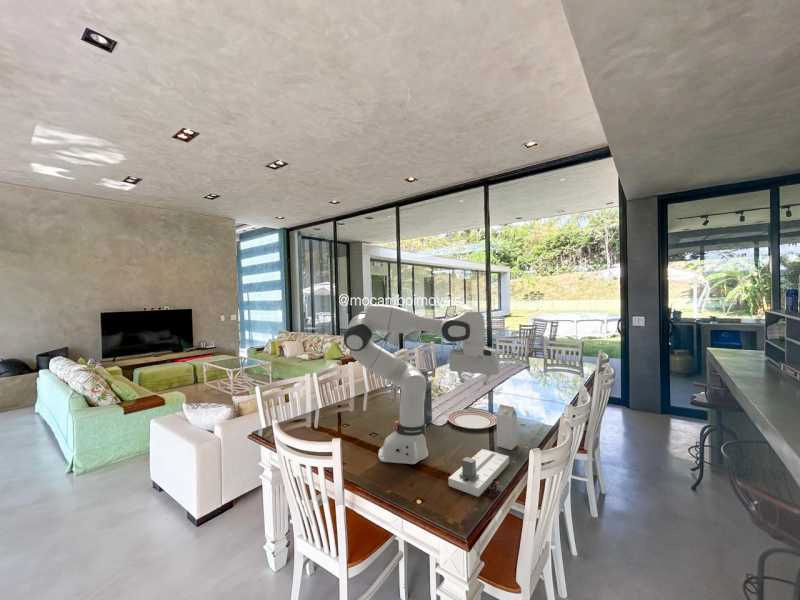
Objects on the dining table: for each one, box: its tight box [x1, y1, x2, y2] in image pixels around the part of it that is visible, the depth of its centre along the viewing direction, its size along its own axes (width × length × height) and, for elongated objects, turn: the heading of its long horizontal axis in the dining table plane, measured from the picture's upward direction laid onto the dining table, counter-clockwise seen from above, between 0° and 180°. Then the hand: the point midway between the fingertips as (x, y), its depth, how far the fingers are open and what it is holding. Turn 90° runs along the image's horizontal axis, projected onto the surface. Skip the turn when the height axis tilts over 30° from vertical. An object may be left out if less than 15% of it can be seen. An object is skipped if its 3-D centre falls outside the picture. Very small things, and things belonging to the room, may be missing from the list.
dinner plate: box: [447, 409, 497, 430], centre depth 190 cm, size 27×27×3 cm
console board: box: [448, 448, 510, 498], centre depth 135 cm, size 30×12×3 cm, turn 142°
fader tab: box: [459, 456, 479, 481], centre depth 127 cm, size 4×6×6 cm
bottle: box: [418, 367, 433, 424], centre depth 195 cm, size 10×10×30 cm
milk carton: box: [496, 404, 518, 451], centre depth 160 cm, size 7×7×19 cm
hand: (473, 383), depth 140 cm, fingers open, 8 cm apart
